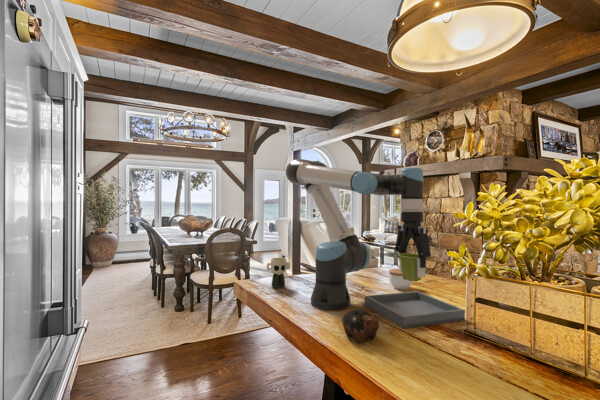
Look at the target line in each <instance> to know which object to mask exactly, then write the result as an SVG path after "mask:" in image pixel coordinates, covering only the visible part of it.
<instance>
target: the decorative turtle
mask: <svg viewBox="0 0 600 400" xmlns="http://www.w3.org/2000/svg"><path fill="white" fill-rule="evenodd" d="M341 322H342V326H343V329H344V332H345V334H346V335H345V336H346V337H347V338H348V339H349V338H350V339H351V338H353V339H354V341H355V343H356V344H357V345H360V344H362V343H363V342H364V340H365V339H366V338H367V339H368V340H370V341H374V340H375V339H376V335H377V333H378V330H379V327H380V324H379V323H380V322H379V320H378V318H376V317H375V316H373V314H371V313H370V312H368V311H366V310H362V309H352V310H350V311H347V313H345V314H344V315H343V316H342V318H341Z"/></svg>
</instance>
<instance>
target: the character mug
mask: <svg viewBox="0 0 600 400" xmlns="http://www.w3.org/2000/svg"><path fill="white" fill-rule="evenodd" d="M290 269H291V262H289V261H287V258H286V257H272V258H270V262H267V263H266V270H267V271H270V272H271V273H272V274H273V275H272V278H271V279H272V280H271V287H272V288H284V287H286V280H285V273H286V272H287V270H290Z"/></svg>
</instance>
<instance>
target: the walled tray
mask: <svg viewBox="0 0 600 400" xmlns="http://www.w3.org/2000/svg"><path fill="white" fill-rule="evenodd" d="M364 306H365V307H367V308H369V309H370V310H372V311H374V312H375V313H377V314H378V315H381V316H382V317H383V318H386V319H387V320H388V321H390V322H392V323H394V324H395V325H397V326H399V327H401V329H402V328H403V329H411V328H412V329H413V328H418V327H424V326H425V327H426V326H433V325H441V324H449V322H450V323H454V322H453V321H457V322H462V321H461V320H466V314H465V313H466V310H465V309H464V308H461V307H458V306H456V305H453V304H451V303H448V302H446V301H444V300H440V299H438V298H435V297H433V296H430V295H429V294H425V293H423V292H420V291H417V290H416V291H405V292H395V293H384V294H373V295H372V294H371V295H364Z"/></svg>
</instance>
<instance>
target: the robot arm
mask: <svg viewBox="0 0 600 400" xmlns="http://www.w3.org/2000/svg"><path fill="white" fill-rule="evenodd" d="M285 176H286V179H287V180H288V181H289V183H291V184H293V185H296V186H304V188H305V191H306V193H307V195H311V196H312V197H313V201H314V202H315V205H316V207H317V209H318V212H319V214H320V215H321V218H322V220H323V222H324V224H325V226H326V228H327V231H328V233H329V236H330V237H331V240H332V241H324V242H320V243H319V244H318V245H317V246H316V248H315V284H314V287H313V290H312V293H311V296H310V305H312V307H314V308H317V309H320V310H328V311H336V310H337V311H338V310H345V309H347V308H350V307H351V296H350V293H349V291H348V287H347V274H349V273H354V272H359V271H360V270H361V271H362V270H363V269H366V267H367V266H368V265H369V263H370V260H371V252H370V249H369V247H368V246H367V244H366V243H364V242H362V241H361V240H360V239H359V237H358V236H357V234H356V233H353V232H351V229H350V227H349V225H348V223H347V221H346V219H345V217H344V215H343V213H342V211H341V209H340V207H339V204H338V202H337V201H336V198H335V196H334V194H333V192H332V190H331V188H334V189H340V190H345V191H351V192H355V193H358V194H360V195H375V196H390V195H391V196H394V195H395V196H396V195H398V196H400V210H401V212H400V221H401V222H402V223H403V224H400V225H398V224H397V233H396V234H397V235H396V241H395V246H394V247H395V251H397V253H398V254H402V253H407V252H408V251H407V248H408V246H409V243H410V241H411V240H412V241H413V242H414V246H415V248H416V253H417V254H418V255H419V256H418V257H417V277H421V278H426V267H427V258H431V256H432V254H431V248H430V242H429V236H428V234H429V233H428V232H429V230H428V229H429V228H428V227H422V223H423V222H424V212H423V210H424V181H425V180H424V170H423V169H422V168H420V167H405V168H404V167H403V168H402V169H400V173H399V174H382V173H373V172H368V171H358V170H353V169H352V170H351V169H344V168H337V167H329V166H328V165H326V164H325V163H324V162H321V161H319V160H318V161H317V160H315V161H314V160H308V159H302V158H296V159H295V158H294V159H293V160H291V161H290V162H289V163H288V164H287V166H286V168H285ZM398 261H399V268H398V269H399V271H402V269H401V261H400V258H399V257H398Z"/></svg>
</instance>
